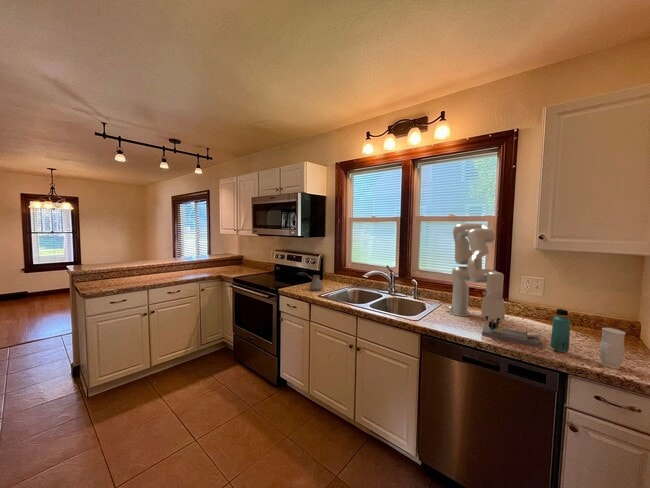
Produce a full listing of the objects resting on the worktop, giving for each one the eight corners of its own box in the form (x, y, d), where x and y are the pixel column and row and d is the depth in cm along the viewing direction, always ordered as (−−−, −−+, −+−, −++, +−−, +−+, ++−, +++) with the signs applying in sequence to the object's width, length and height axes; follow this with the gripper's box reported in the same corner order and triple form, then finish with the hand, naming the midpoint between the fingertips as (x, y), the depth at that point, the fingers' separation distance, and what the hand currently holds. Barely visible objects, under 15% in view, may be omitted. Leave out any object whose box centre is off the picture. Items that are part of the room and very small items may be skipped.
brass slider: (496, 332, 139) (496, 325, 138) (496, 331, 141) (497, 324, 141) (502, 334, 137) (502, 326, 137) (502, 332, 139) (502, 325, 139)
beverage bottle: (562, 356, 119) (565, 312, 118) (546, 349, 125) (549, 308, 124) (572, 354, 121) (575, 311, 120) (556, 347, 127) (559, 307, 126)
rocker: (527, 336, 134) (527, 334, 134) (527, 334, 137) (526, 332, 137) (538, 336, 131) (538, 334, 131) (537, 334, 134) (537, 332, 134)
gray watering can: (324, 289, 236) (325, 273, 235) (318, 292, 226) (318, 275, 225) (304, 286, 246) (304, 270, 245) (297, 289, 236) (297, 272, 235)
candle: (623, 371, 107) (626, 335, 106) (598, 364, 112) (601, 330, 111) (622, 365, 112) (625, 331, 111) (598, 359, 117) (601, 326, 116)
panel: (482, 335, 141) (482, 329, 141) (483, 327, 152) (484, 322, 151) (539, 347, 127) (540, 340, 127) (537, 338, 138) (537, 332, 138)
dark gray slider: (493, 328, 145) (493, 321, 145) (493, 326, 147) (493, 319, 147) (499, 329, 144) (499, 322, 144) (499, 327, 146) (499, 320, 146)
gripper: (477, 294, 141) (475, 327, 142) (511, 299, 132) (508, 334, 134) (478, 291, 147) (476, 323, 148) (511, 296, 139) (508, 330, 140)
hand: (491, 329), depth 141 cm, fingers closed
